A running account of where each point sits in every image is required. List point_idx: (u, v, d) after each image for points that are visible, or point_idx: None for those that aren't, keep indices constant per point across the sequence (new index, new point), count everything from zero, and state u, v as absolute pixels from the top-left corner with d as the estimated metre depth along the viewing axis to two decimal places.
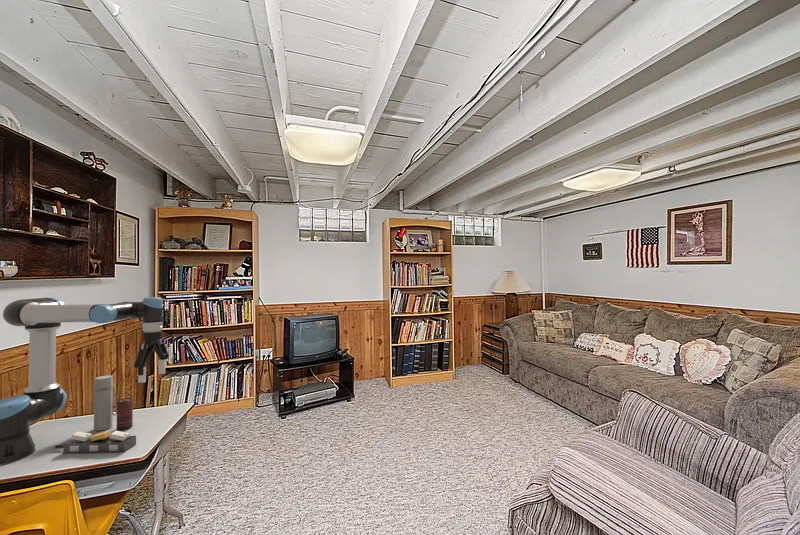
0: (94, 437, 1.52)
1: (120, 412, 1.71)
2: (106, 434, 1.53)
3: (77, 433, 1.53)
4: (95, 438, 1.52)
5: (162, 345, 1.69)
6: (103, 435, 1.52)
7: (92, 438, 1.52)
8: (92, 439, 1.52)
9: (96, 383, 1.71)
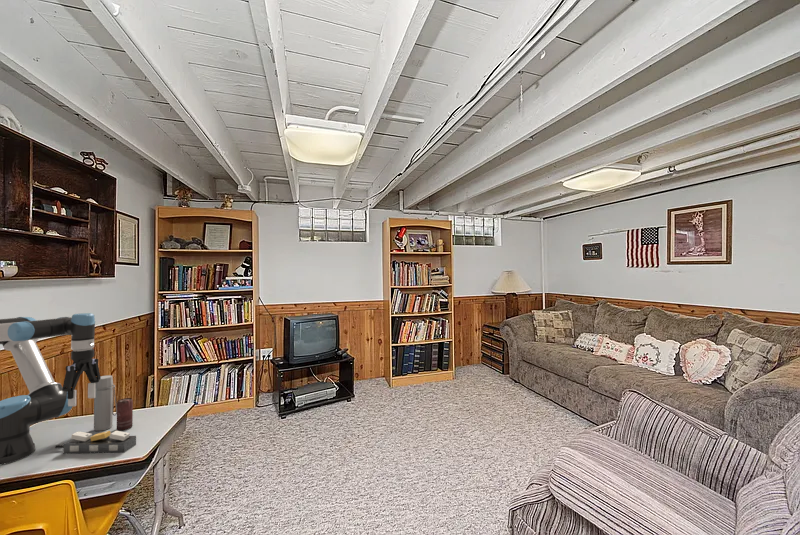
0: (94, 437, 1.52)
1: (120, 412, 1.71)
2: (106, 434, 1.53)
3: (77, 433, 1.53)
4: (95, 438, 1.52)
5: (94, 365, 1.59)
6: (103, 435, 1.52)
7: (92, 438, 1.52)
8: (92, 439, 1.52)
9: (96, 383, 1.71)
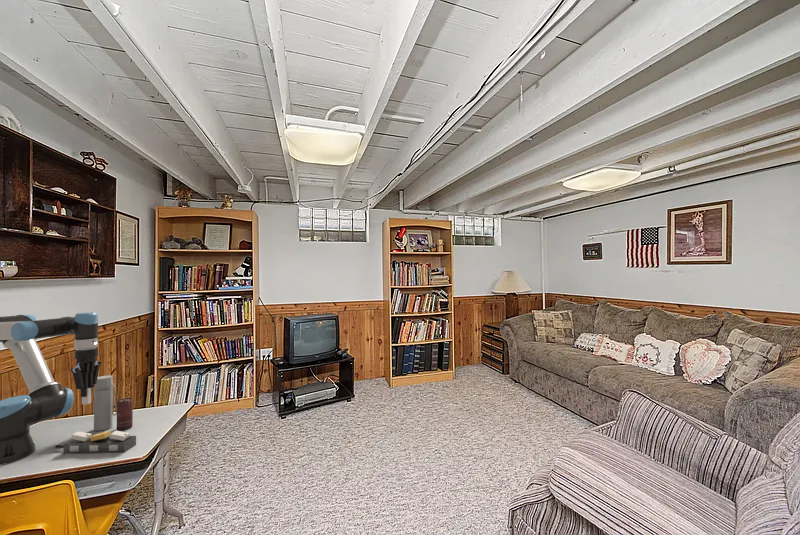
0: (94, 437, 1.52)
1: (120, 412, 1.71)
2: (106, 434, 1.53)
3: (77, 433, 1.53)
4: (95, 438, 1.52)
5: (95, 367, 1.58)
6: (103, 435, 1.52)
7: (92, 438, 1.52)
8: (92, 439, 1.52)
9: (96, 383, 1.71)
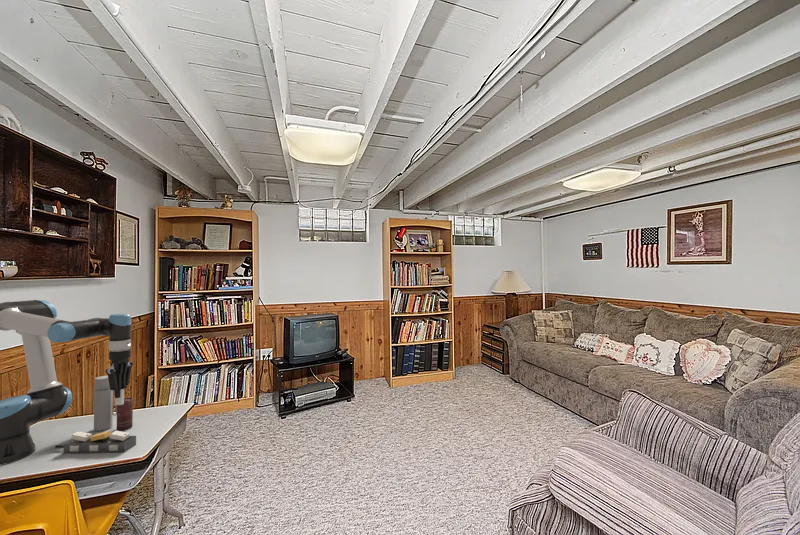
0: (94, 437, 1.52)
1: (120, 412, 1.71)
2: (106, 434, 1.53)
3: (77, 433, 1.53)
4: (95, 438, 1.52)
5: (128, 368, 1.58)
6: (103, 435, 1.52)
7: (92, 438, 1.52)
8: (92, 439, 1.52)
9: (96, 383, 1.71)
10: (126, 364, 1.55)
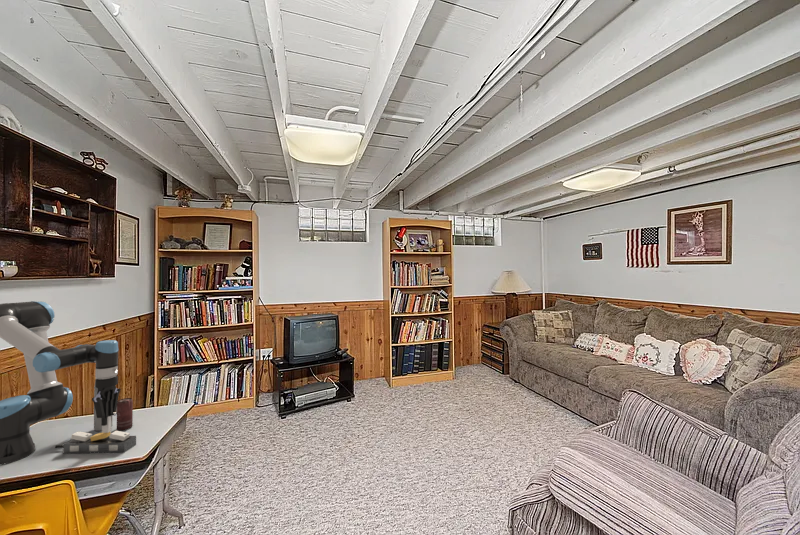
0: (94, 437, 1.52)
1: (120, 412, 1.71)
2: (106, 434, 1.53)
3: (77, 433, 1.53)
4: (95, 438, 1.52)
5: (115, 395, 1.58)
6: (103, 435, 1.52)
7: (92, 438, 1.52)
8: (92, 439, 1.52)
9: None
10: (113, 391, 1.55)
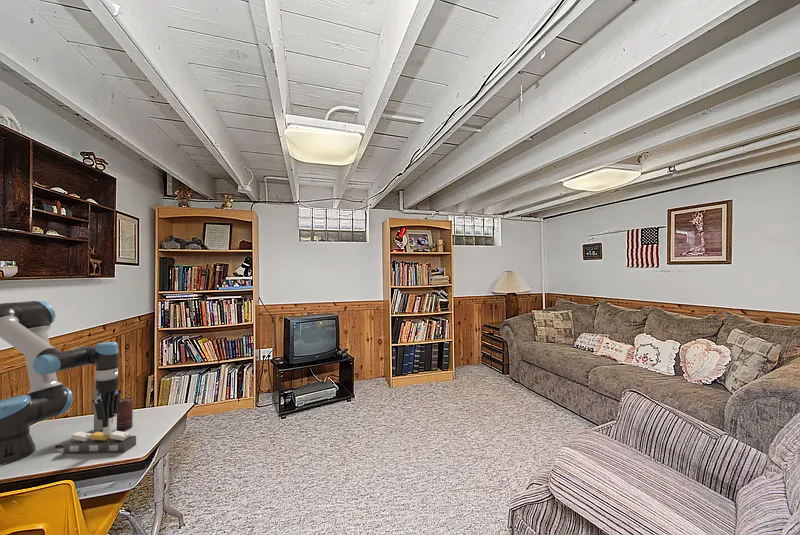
0: (94, 436, 1.52)
1: (120, 412, 1.71)
2: (106, 436, 1.53)
3: (77, 433, 1.53)
4: (95, 437, 1.52)
5: (116, 396, 1.58)
6: (103, 437, 1.52)
7: (92, 436, 1.52)
8: (92, 437, 1.52)
9: None
10: (114, 393, 1.55)
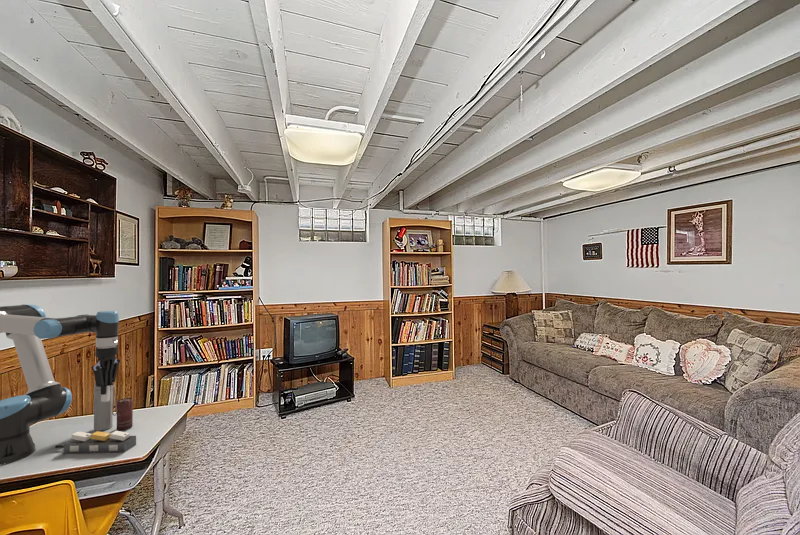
0: (94, 436, 1.52)
1: (120, 412, 1.71)
2: (106, 437, 1.53)
3: (77, 433, 1.53)
4: (95, 437, 1.52)
5: (115, 365, 1.59)
6: (103, 437, 1.52)
7: (92, 436, 1.52)
8: (92, 437, 1.52)
9: None
10: (113, 361, 1.56)
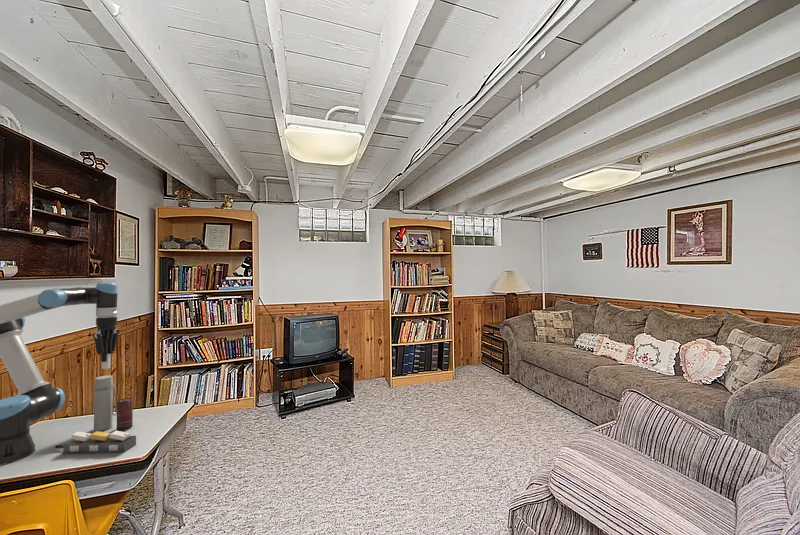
0: (94, 436, 1.52)
1: (120, 412, 1.71)
2: (106, 437, 1.53)
3: (77, 433, 1.53)
4: (95, 437, 1.52)
5: (114, 335, 1.67)
6: (103, 437, 1.52)
7: (92, 436, 1.52)
8: (92, 437, 1.52)
9: (96, 383, 1.71)
10: (112, 330, 1.64)
